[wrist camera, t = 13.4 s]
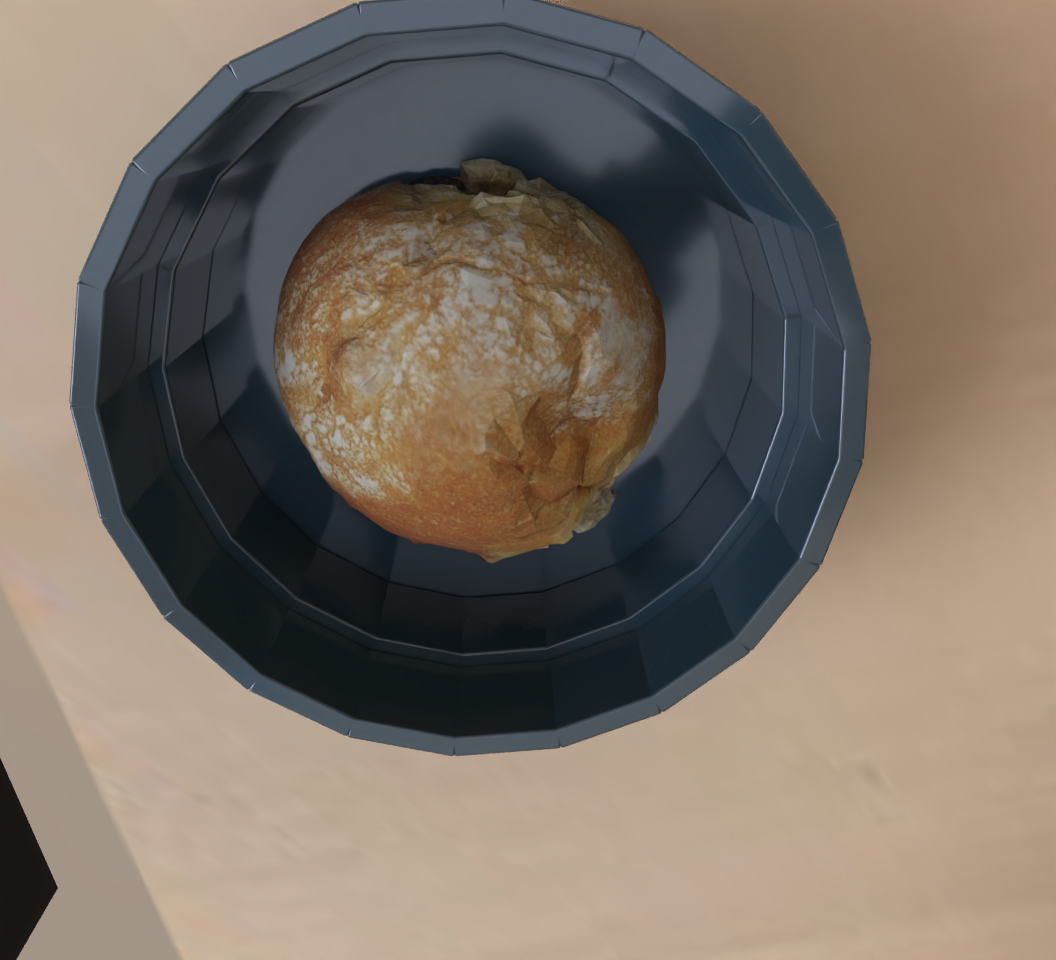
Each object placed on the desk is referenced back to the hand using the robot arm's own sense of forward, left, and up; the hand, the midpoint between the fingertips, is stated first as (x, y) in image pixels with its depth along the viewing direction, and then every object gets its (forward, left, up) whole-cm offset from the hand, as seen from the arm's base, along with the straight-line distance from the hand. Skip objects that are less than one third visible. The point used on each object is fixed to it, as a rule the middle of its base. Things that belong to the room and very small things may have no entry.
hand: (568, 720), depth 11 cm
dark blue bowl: (+1, +1, -18) cm, 18 cm away
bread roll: (+1, +1, -17) cm, 17 cm away
